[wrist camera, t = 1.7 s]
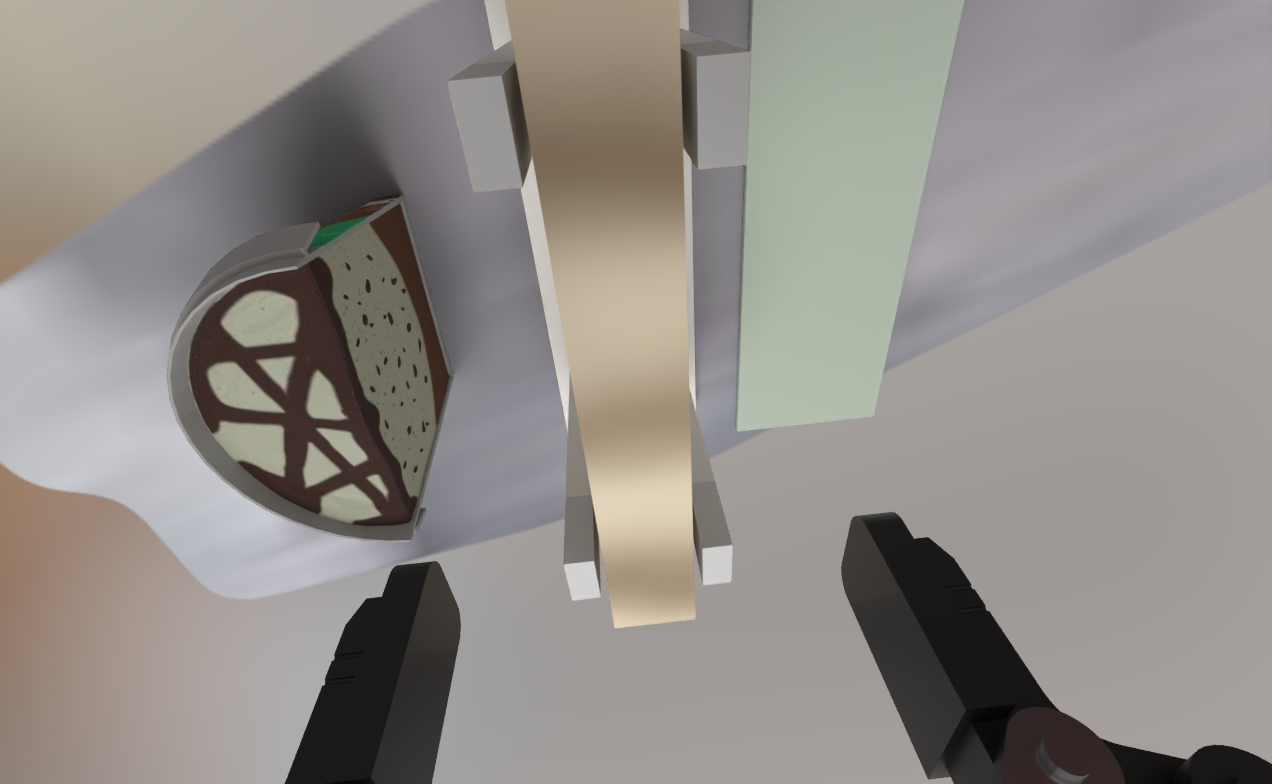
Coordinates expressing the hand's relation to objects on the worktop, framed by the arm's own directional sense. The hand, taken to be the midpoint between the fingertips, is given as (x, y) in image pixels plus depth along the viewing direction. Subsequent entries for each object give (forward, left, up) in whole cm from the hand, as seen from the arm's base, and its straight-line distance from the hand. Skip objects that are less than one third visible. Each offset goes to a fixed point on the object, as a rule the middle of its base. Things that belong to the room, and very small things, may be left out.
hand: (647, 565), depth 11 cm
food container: (+2, -12, -18) cm, 22 cm away
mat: (0, +10, -18) cm, 21 cm away
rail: (0, 0, -8) cm, 8 cm away
